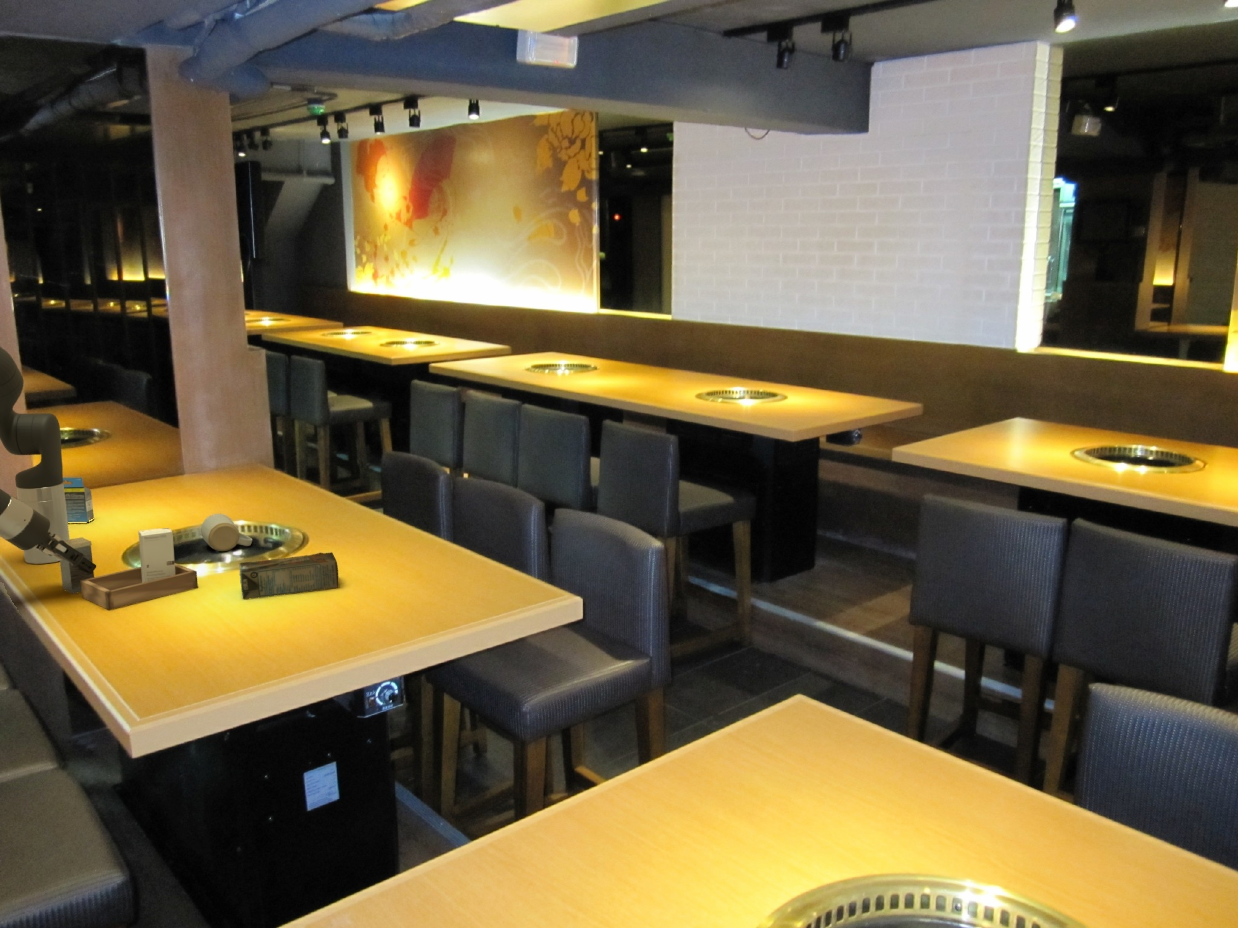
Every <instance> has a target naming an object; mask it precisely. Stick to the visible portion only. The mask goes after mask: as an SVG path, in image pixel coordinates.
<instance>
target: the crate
mask: <svg viewBox="0 0 1238 928" xmlns="http://www.w3.org/2000/svg"><path fill="white" fill-rule="evenodd" d="M197 572H198V571H197V570H194V569H191V568H188V567H187V566H183V565H180V564H179V563H175V575H173V576H169V577H165V578H160V579H156V580H152V581H148V582H144V583H142V573H141V566H138V567H135V568H134V567H133V568H129V569H126V570H122V571H121V570H120V571H117V572H112V573H108V574H107V573H106V574H103V575H98V576H94V578H89V579H85V580H81V581H80V585H81V592H80V593H81V598H83V599H84V600H87V601H89V602H90V603H93V604H95V605H97V606H100V607H102V608H104V609H106V610H108V611H111V610H116V609H119V608H123V607H126V606H131V605H135V604H139V603H143V602H147V601H151V600H154V598H155V599H159V598H164V597H166V596H165V595H167V596H171V595H174V594H179V593H182V592H183V593H184V592H186V591H190V590H194V589H198V587H199V584H198V574H197ZM142 601H143V602H142Z"/></svg>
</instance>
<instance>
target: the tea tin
mask: <svg viewBox="0 0 1238 928" xmlns="http://www.w3.org/2000/svg"><path fill="white" fill-rule="evenodd" d="M65 542H67V543H68V544H70V545H72V546H73V548H74V549H75V550H77V551H78V552H80V553H83V555H84V557H85V558H86V559H88V560H89V561H91V562H92V563H94V562H93V561H94V560H93V553H92V541H91V540H89V539H86V538H84V537H77V538H71V539H70V540H65ZM75 555H76V554H74V553H73V554H72V555H71V556H70V559H73V558H74V557H75ZM59 556H60V555H59ZM59 566H60V574H61V584H62V589H63V590H64V591H65V590H66V591H65V592H67V593H69V592H70V593H69V594H72V595H74V594H78V593H77V592H79V593H81V585H80V581H81V580H85V579H89V578H94V577H95V572H94V571H95V570H94V571H93V572H92V573H91V574H88V573H86V572H84V571H83V570H81V569H80V568H78V567H77V566H75V565H71V563H69V562H68V561H66V560H64V561H61V560H60V561H59Z"/></svg>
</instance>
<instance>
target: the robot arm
mask: <svg viewBox="0 0 1238 928" xmlns="http://www.w3.org/2000/svg"><path fill="white" fill-rule="evenodd" d="M24 383H25V382H24V378H23V375H22V372H21V371H20V369H19V368H18V365H17V364H16V361H15V359H14V358H13V357H12V356H11V354H10V353H9V352H8V351H7V350H6V349H4V348H3V347H2V346H0V442H1V444H2V446H3V447H4V448H5V450H6V451H7V452H8V453H9V454H11V455H15V456H39V455H40V462H39V463H38V464H36V465H35V466H33V467H29V468H27V469H24V470H21V471H20V472H18V473H16V474H15V476H14V480H15V487H16V488H15V489H16V496H17V498H16V497H14V496H12V495H10V494H8V493H7V492H5V491H4V490H2V489H1V488H0V538H2V539H3V540H5V541H7V542H9V543H10V544H11V545H13V546H15V547H16V548H18V549H19V550H21V551H23V557H24V562H25V563H27V564H34V565H35V564H36V565H38V564H50V563H57V562H60V560H61V561H64V560H66V561H68V562H69V563H71V565H75V566H77V567H78V568H80V569H81V570H83V571H84V572H86V573H88V574H91V573H92V572H93V571H95V570H96V568H97V564H96V563H94V562H93V563H92V562H91V561H89V560H88V559H86V558H85V557H84V555H83V553H80V552H78V551H77V550H75V549H74V548H73V546H72V545H70V544H68V543H67V542H65V540H70V529H69V524H68V520H67V511H66V501H65V493H64V484H65V483H64V482H63V478H64V477H63V476H64V475H63V474H64V472H63V468H64V467H63V456H62V436H61V433H62V432H61V426H60V422H59V419H58V417H57V416H56V415H55V414H54V413H49V412H38V413H37V412H36V413H35V412H34V413H31V412H30V413H29V412H28V413H18V412H16V411H15V410H14V409H13V408H14V406H15V405H16V403H17V402H18V400H19V398H20V396H21V394H22V392H23V389H24ZM73 553H74V554H76V555H75V557H74V558H73V559H70V556H71V555H72V554H73ZM59 555H60V556H59Z"/></svg>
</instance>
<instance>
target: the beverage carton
mask: <svg viewBox="0 0 1238 928" xmlns="http://www.w3.org/2000/svg"><path fill="white" fill-rule="evenodd" d="M339 577H340V576H339V566H338V561H337V559H336V557H335V556H334V553H333V552H332V551H331V552H318V553H314V554H310V555H309V554H306V555H300V556H291V557H282V558H276V559H275V558H274V559H266V560H258V561H257V560H256V561H245V562H240V563H239V579H240V589H241V596H242V600H250V599H249V598H251V599H257V598H258V597H259V598H268V596H269V597H275V596H274V595H277V596H283V595H284V594H285V595H290V594H299V593H300V592H301V593H307V591H308V592H315V591H322V590H324V589H325V590H331V589H338V588H339V579H340V578H339ZM325 590H324V591H325ZM301 593H300V594H301ZM285 595H284V596H285Z"/></svg>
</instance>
